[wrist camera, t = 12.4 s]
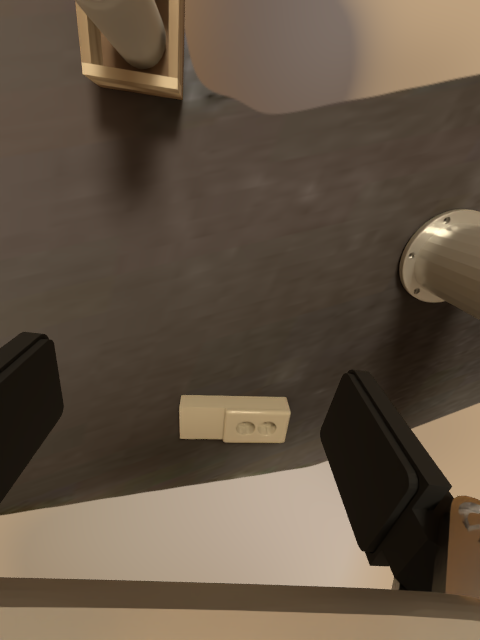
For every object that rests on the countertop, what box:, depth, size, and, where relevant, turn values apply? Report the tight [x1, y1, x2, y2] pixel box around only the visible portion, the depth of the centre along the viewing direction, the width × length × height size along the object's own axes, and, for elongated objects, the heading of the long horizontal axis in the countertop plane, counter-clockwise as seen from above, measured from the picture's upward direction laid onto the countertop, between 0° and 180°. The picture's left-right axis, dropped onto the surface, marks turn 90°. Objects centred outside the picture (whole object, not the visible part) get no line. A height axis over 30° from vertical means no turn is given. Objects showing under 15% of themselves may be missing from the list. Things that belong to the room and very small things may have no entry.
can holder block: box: [75, 0, 185, 100], centre depth 25 cm, size 8×8×4 cm
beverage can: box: [75, 0, 166, 69], centre depth 21 cm, size 5×5×12 cm
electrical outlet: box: [179, 395, 291, 443], centre depth 48 cm, size 7×4×18 cm
